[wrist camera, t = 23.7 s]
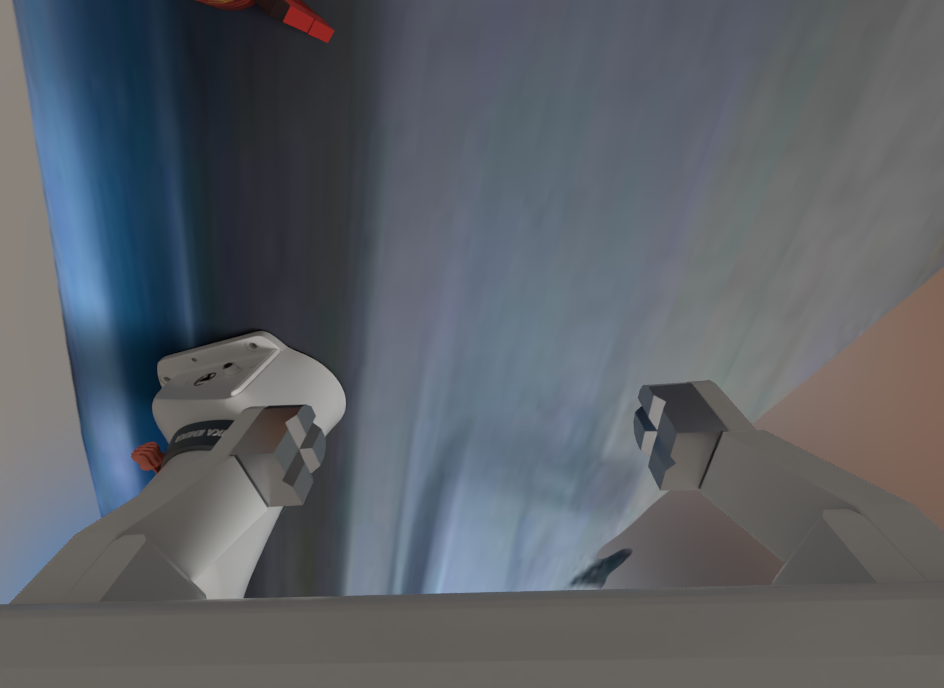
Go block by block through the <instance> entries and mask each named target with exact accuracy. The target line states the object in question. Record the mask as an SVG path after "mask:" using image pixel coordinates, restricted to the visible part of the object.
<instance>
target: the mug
mask: <svg viewBox="0 0 944 688" xmlns="http://www.w3.org/2000/svg"><path fill="white" fill-rule="evenodd" d="M196 1H198V2H201V3H203V4H206V5H208V6H211V7H214V8H216V9H221V10H227V11H236V10H243V9H246V8H249V7H251V6H253V5H255V4H256V3H257V4H258V5H259V6H260V7H261V8H262V9H263V10H264V11H265V12H266V13H267V14H268V15H269V16H271V17H273V18H275V19H278V20H280V21H282V22H284V23H286V24H289V25H291V26H293V27H295V28H297V29H300V30H302V31H304V32H306V33H307V34H309V35H311V36H313V37H316V38H318V39H320V40H322V41H324V42H327V43H328V42H329V40H330V38H331V36H332V34H333V32H334V30H333V29H332V28H331V27H330V26H329V25H328V24H327V23H326V22H325V21H324V20H323V19H322V18H321V17H320V16H319V15H318V14H317V13H316V12H315V11H313V10H312V9H311V8H310V7H309V6H308V5H307V4H306V3H305V2H304V1H303V0H196Z"/></svg>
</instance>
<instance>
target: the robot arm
mask: <svg viewBox="0 0 944 688" xmlns="http://www.w3.org/2000/svg"><path fill="white" fill-rule="evenodd" d="M253 343H255V344H256V345H254V344H253ZM157 373H158V378H159V381H160V384H161V386H162V389H161V390H160V391H159V392H158V393H157V394H156V396H155V398H154V400H153V404H152V411H153V416H154V418H155V421H156V423H157V425H158V427H159V428H160V430H161V432H162V433H163V435H164V437H165V438H166V440H167V441H168V443H169V446H168V448H167V451H166V453H165V454H164V453H162V452H161V451H160V448H159V446H158V445H157V443H155V442H149V443H145V444H143V446H139V447H138V449H135V450H134V452H133V453H132V454H131V455H132V456H131V458H132V459H133V460H134V461H136V462H137V463H139V464H140V466H141V469H142V470H151V469H153V470H154V471H155V472H156V474H157V475H156V476H155V477H154V478H153V479H152V480H151V481H150V482H149V484H148V485H147V486H146V487H145V488H144V489H143V490H142V491H141V492H140V494H139V495H138V496H137V497H135V498H133V499H132V500H130V501H128V502H127V503H125V504H124V505H122V506H120V507H119V508H117V509H116V510H114V511H112V512H111V513H109V514H108V515H106V516H104V517H103V518H101V519H99V520H98V521H96V522H95V523H93V524H91V525H90V526H88V527H87V528H85V529H83V530H82V531H80V532H79V533H77V534H75V535H74V536H73V537H72V538H71V539H70V540H69V542H68V543H67V544H66V545H65V546H64V547H63V548H62V549H61V550H60V551H59V552H58V553H57V554H56V555H55V556H54V557H53V558H52V559H51V560H50V561H49V562H48V564H47V565H46V566H45V567H44V568H43V569H42V570H41V571H40V572H39V573H38V574H37V575H36V576H35V577H34V578H33V579H32V580H31V581H30V582H29V583H28V585H27V586H26V587H25V588H24V589H23V590H22V591H21V592H20V593H19V594H18V595H17V596H16V597H15V598H14V599H13V600H12V601H11V602H10V603H9V604H3V605H0V688H944V531H943V530H942V529H940V528H939V527H938V526H937V525H936V524H935V523H934V522H933V521H932V520H931V519H929V518H928V517H927V516H926V515H925V514H924V513H923V512H922V511H921V510H919V509H918V508H917V507H916V506H915V505H913V504H912V503H910V502H907V501H906V500H904V499H902V498H900V497H898V496H896V495H894V494H892V493H890V492H888V491H886V490H883V489H882V488H880V487H878V486H876V485H874V484H872V483H870V482H868V481H866V480H864V479H861V478H860V477H858V476H856V475H854V474H852V473H850V472H847V471H845V470H844V469H842V468H840V467H837V466H835V465H834V464H832V463H830V462H827V461H825V460H823V459H821V458H819V457H817V456H815V455H813V454H811V453H809V452H807V451H805V450H803V449H801V448H799V447H797V446H795V445H793V444H791V443H789V442H787V441H785V440H783V439H781V438H779V437H777V436H775V435H773V434H771V433H769V432H767V431H765V430H756V429H755V428H754V427H753V425H752V424H751V423H750V422H749V421H748V420H747V419H746V417H745V416H744V415H743V414H742V413H741V412H740V411H739V410H738V408H737V407H736V406H735V405H734V404H733V403H732V402H731V400H730V399H729V398H728V397H727V396H726V395H725V394H724V393H723V391H722V390H721V389H720V388H719V387H718V386H717V385H716V384H715V383H714V382H712V381H710V380H706V381H693V382H686V383H670V384H654V385H643V386H642V387H641V389H640V392H639V396H638V399H639V401H640V403H641V405H642V406H641V407H640V408H639V409H638V410H637V411H636V412H635V416H634V422H633V423H634V434H635V437H636V441H637V443H638V446H639V448H640V450H641V451H642V452H644V453H645V454H646V455H648V456H649V457H650V460H649V465H648V467H649V469H650V471H651V473H652V475H653V477H654V479H655V481H656V483H657V485H658V487H659V489H660V490H700V493H701V494H703V495H704V496H705V497H706V498H707V499H709V500H710V501H711V502H712V503H713V504H715V505H716V506H717V507H718V508H719V509H721V510H722V511H723V512H724V513H725V514H727V515H728V516H729V517H730V518H731V519H733V520H734V521H735V522H736V523H737V524H739V525H740V526H741V527H742V528H743V529H745V530H746V531H747V532H748V533H749V534H750V535H752V536H753V537H754V538H756V540H758V541H759V542H760V543H761V544H763V545H764V546H765V547H766V548H767V549H768V550H770V551H771V552H772V553H773V554H774V555H776V556H777V557H778V558H779V559H780V560H782V561H783V562H784V563H785V565H784V566H783V567H782V569H781V570H780V572H779V573H778V574H777V576H776V577H775V579H774V581H773V583H772V585H767V586H727V587H688V588H687V587H685V588H649V589H648V588H646V589H606V590H605V589H603V590H562V591H521V592H480V593H441V594H402V595H363V596H323V597H283V598H243V597H244V594H245V591H246V588H247V585H248V583H249V580H250V577H251V575H252V573H253V571H254V568H255V566H256V564H257V561H258V559H259V557H260V555H261V552H262V550H263V548H264V546H265V544H266V541H267V539H268V537H269V535H270V533H271V531H272V529H273V526H274V524H275V522H276V520H277V518H278V516H280V515H281V514H282V513H283V512H285V510H286V509H287V507H288V506H292V505H303V503H304V500H305V498H306V496H307V494H308V492H309V489H310V487H311V485H312V483H313V478H312V475H311V473H312V472H313V471H314V470H315V469H317V468H318V467H319V466H320V465H321V462H322V460H323V458H324V454H325V447H326V442H325V436H326V435H327V434H328V433H329V431H330V430H331V429H332V428H333V427H334V426H335V425H336V424H337V423H338V422H339V421H340V419H341V418H342V416H343V414H344V412H345V407H346V400H345V394H344V391H343V389H342V387H341V385H340V383H339V382H338V380H337V379H336V378H335V376H334V375H333V374H332V373H331V372H330V371H329V370H328V369H327V368H326V367H325V366H323V365H322V364H321V363H319V362H318V361H316V360H314V359H313V358H311V357H309V356H307V355H305V354H302V353H300V352H297V351H295V350H293V349H291V348H289V347H287V346H286V345H285V344H283V343H282V342H281V341H280V340H278V339H277V338H276V337H274V336H273V335H271V334H270V333H268V332H265V331H257V332H253V333H250V334H246V335H242V336H239V337H235V338H231V339H227V340H224V341H220V342H216V343H212V344H209V345H205V346H201V347H197V348H194V349H190V350H186V351H182V352H179V353H175V354H171V355H168V356H165V357H163V358H162V359H161V360H160V361H159V362H158V366H157Z"/></svg>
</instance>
